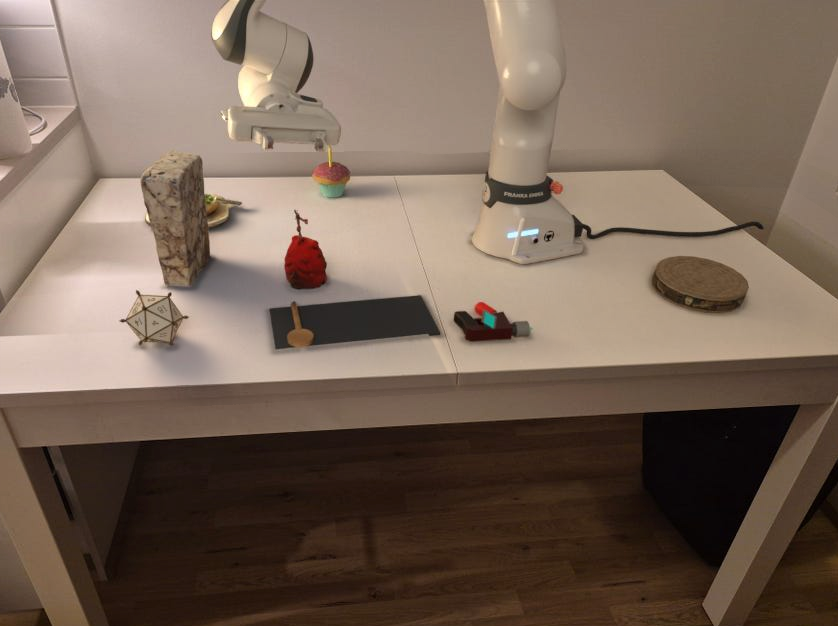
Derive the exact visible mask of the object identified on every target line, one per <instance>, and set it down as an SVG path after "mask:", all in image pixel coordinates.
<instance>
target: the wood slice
mask: <svg viewBox="0 0 838 626" xmlns="http://www.w3.org/2000/svg"><path fill="white" fill-rule="evenodd" d="M651 281H652V282H651V286H652V287H653V289H654V291H655V293H657V294H658V295H659V296H661V298H663V299H664V300H666V301H667V302H670V303H672V304H674V305H676V306H677V307H681V308H684V309H687V310H691V311H695V312H701V313H708V314H709V313H710V314H723V313H724V314H725V313H730V312H733V311H736V310H737V309H739V308H741V306H742V305H743V304H744V300H745V299H746V296H747V294H748V291H749V289H750V286H749V282H748V280H747V279H746V277H745V276H744V275H743V274H742V273H740V272H739V271H737V270H736V269H734V268H732V267H731V266H728V265H726V264H724V263H722V262H719V261H716V260H712V259H709V258H704V257H698V256H692V255H691V256H688V255H676V256H669V257H666V258H664V259H661V260H659V262H658V263H657V264H656V266H655V269H654V272H653V275H652V280H651Z"/></svg>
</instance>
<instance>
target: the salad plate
mask: <svg viewBox="0 0 838 626" xmlns="http://www.w3.org/2000/svg"><path fill="white" fill-rule="evenodd" d="M204 194H205V204H206V211H207V220H208V229H209V228H214V227H218V226H220V225H221V224H224V223H225V222H226V221H227V220H228V219H229V218H230V210H231V208H233V207H238V206H239V207H240V206H241V205H242V204H243V203H242V202H243V201H239V200H234V199H233V200H231V199H226V198H225V197H224V196H221V195H218V194H216V193H204ZM144 220H145V224H146V225H147V226H149V227H151V224H150V220H149V216H148V211H147V210H146V212H145V219H144Z"/></svg>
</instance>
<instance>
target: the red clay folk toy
mask: <svg viewBox="0 0 838 626" xmlns="http://www.w3.org/2000/svg"><path fill="white" fill-rule="evenodd" d="M293 210H294V211H293V212H294V214H295V218H294V220H296V224H297V226H296V229H295V230H296V232H298V234H295V235H292V237H291V242H290V244H289V245H288V247H287V250H286V254H285V256H284V265H283V267H284V269H283V270H284V273H285V278H286V280H287V281H288V283H289V284H290V287H291V288H292V289H294V290H313V289H319V288H320V287H321V286H322V285H323V286H324V285H325V284H326V282H327V277H328V275H327V271H326V270H327V268H328V267H327V266H328V262H327V261H326V258H325V256H324V253H323V251H322V249H321V248H320V243H319V241H317V240H315V239H312V238H310V237H308V236H303V235H302V232H301V231H302V227H301V221H302V222H303V223H304V224H305V225H308V224H309V219H307V218H303V217H301V216H300V213H298V209H293Z"/></svg>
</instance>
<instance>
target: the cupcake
mask: <svg viewBox="0 0 838 626" xmlns="http://www.w3.org/2000/svg"><path fill="white" fill-rule="evenodd" d="M327 149H328V151H327V152H328V161H325V162H322V163H320V164H319V165H316V167H315V168H314V170H312V178H313V180H314V181H315V182H316V183H317V184H318V186H319V189H320V192H321V195H322V196H323V197H326V198H339V197H341V196H343V195H344V190H345V188H346V185H347V183H348V182H349V181H350V180H351V171H350V169H348V167H347V166H346V165H344V164H341V163H340V162H338V161H337V162H336V161H333V155H332V153H333V152H332V151H333V150H332V147H331V145H328V148H327Z"/></svg>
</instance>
